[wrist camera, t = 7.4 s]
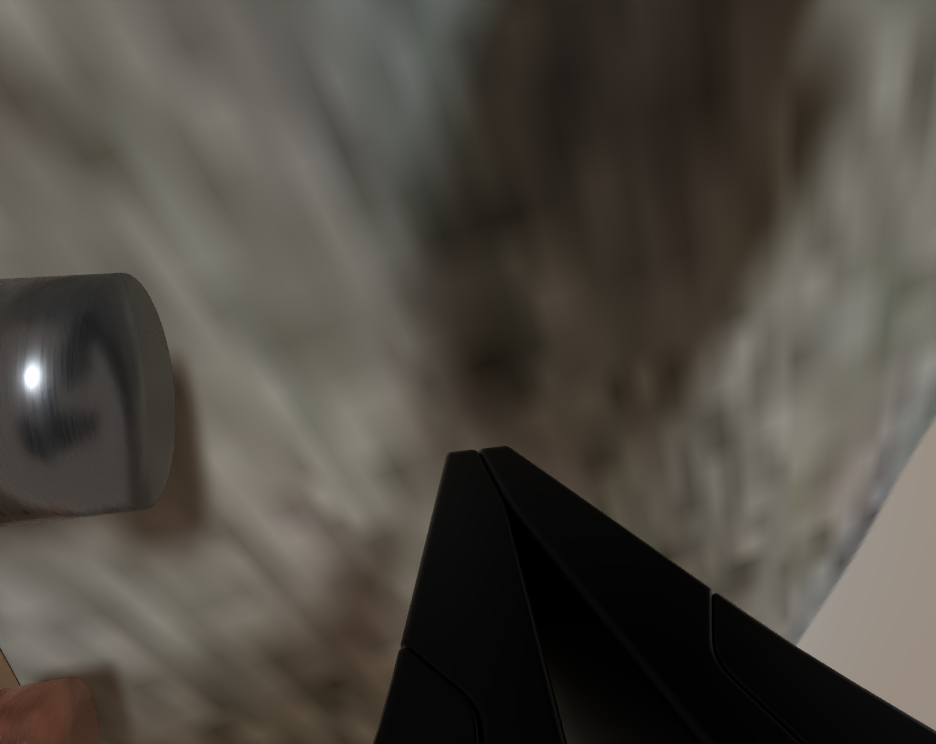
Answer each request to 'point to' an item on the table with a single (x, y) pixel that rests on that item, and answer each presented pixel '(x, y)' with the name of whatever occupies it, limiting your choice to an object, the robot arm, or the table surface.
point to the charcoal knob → (82, 398)
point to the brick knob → (48, 713)
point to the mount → (6, 674)
